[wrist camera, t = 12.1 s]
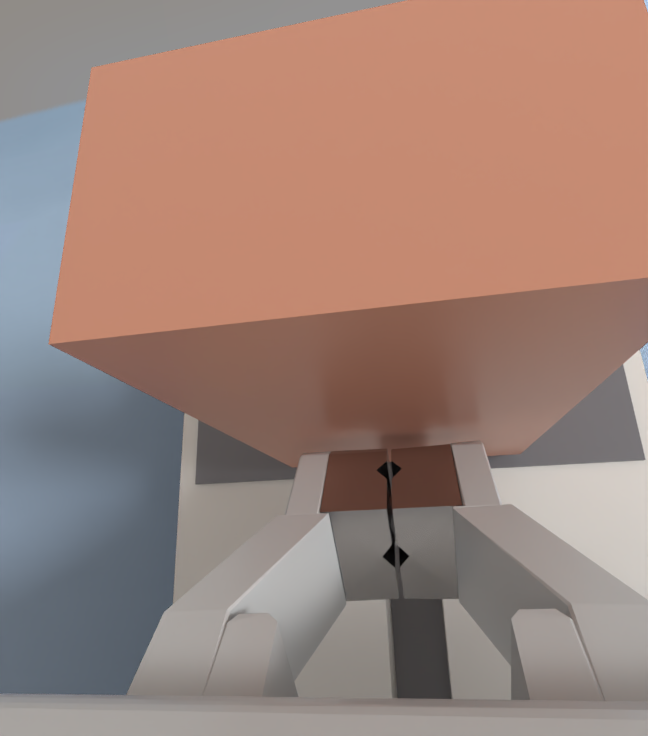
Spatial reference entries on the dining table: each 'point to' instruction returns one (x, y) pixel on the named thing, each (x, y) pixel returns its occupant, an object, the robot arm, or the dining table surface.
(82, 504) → the dining table surface
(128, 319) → the fader
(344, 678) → the white slider track base
